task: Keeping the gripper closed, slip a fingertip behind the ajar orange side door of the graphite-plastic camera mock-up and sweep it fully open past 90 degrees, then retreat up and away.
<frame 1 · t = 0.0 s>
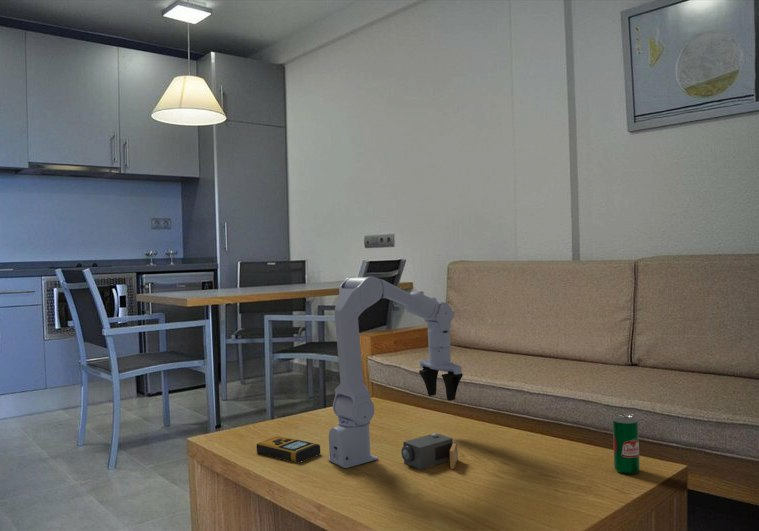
hand: (441, 397, 164), 10 cm above the table, fingers open, 7 cm apart
electronic device: (287, 455, 155), on the table
camera body: (428, 461, 145), on the table
side door: (453, 454, 142), point 2 cm above the table, hinge at 40.0°
soda can: (627, 472, 133), on the table
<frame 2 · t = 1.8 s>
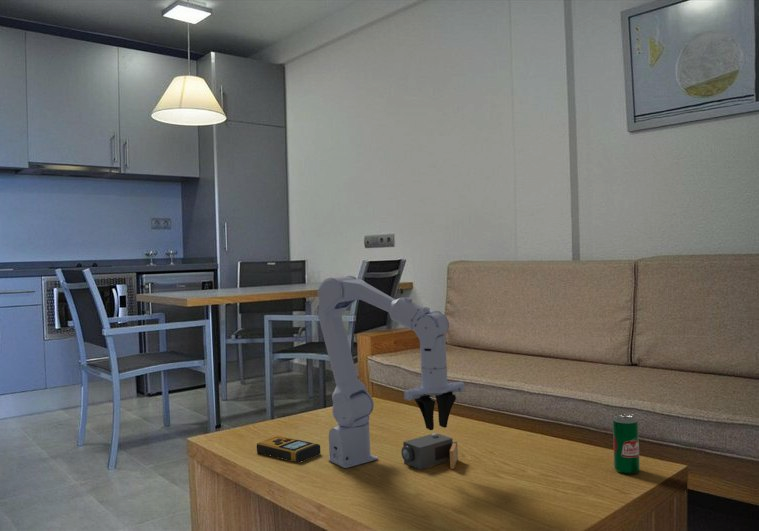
hand: (436, 427, 137), 10 cm above the table, fingers open, 3 cm apart
nothing on the table moved.
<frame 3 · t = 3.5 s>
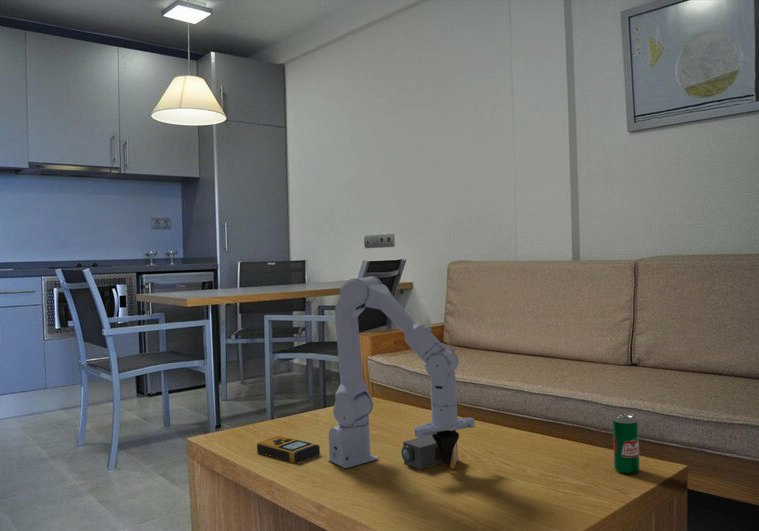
hand: (446, 464, 138), 1 cm above the table, fingers closed, pressing on side door
side door: (453, 454, 142), point 2 cm above the table, hinge at 40.3°, touching gripper
everything else where it was.
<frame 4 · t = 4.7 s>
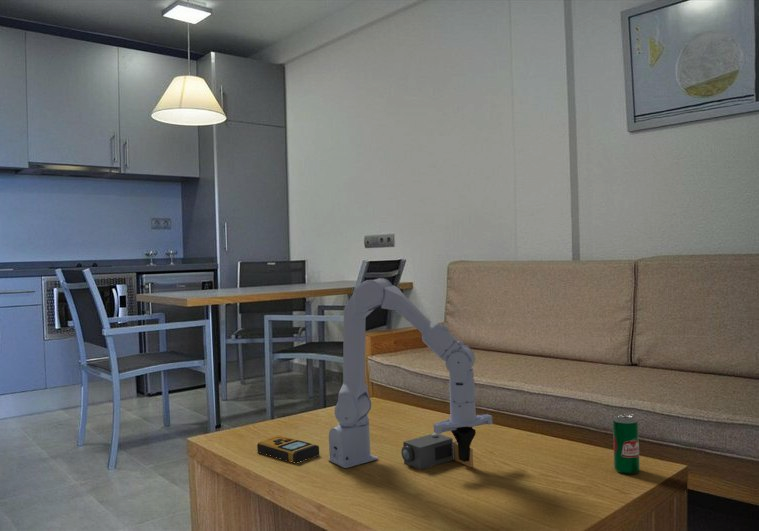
hand: (464, 459, 140), 2 cm above the table, fingers closed, pressing on side door
side door: (462, 454, 142), point 2 cm above the table, hinge at 83.3°, touching gripper
everything else where it was.
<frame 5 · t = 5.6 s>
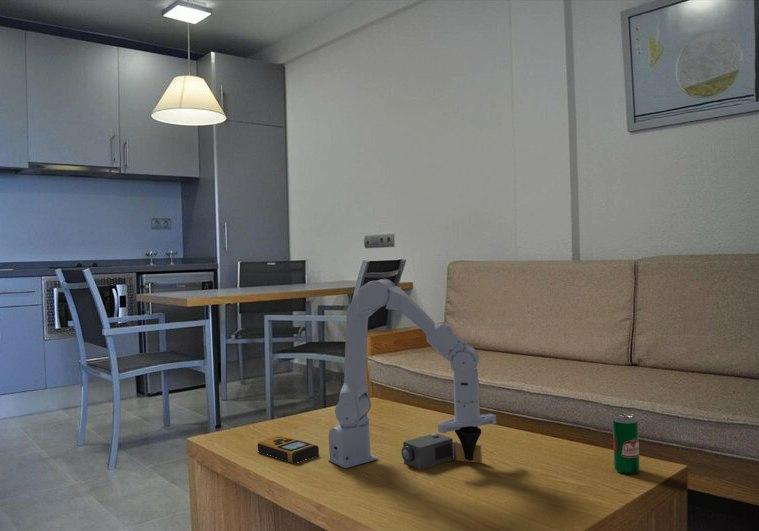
hand: (468, 459, 141), 1 cm above the table, fingers closed
side door: (467, 452, 143), point 2 cm above the table, hinge at 118.9°, touching gripper
everything else where it was.
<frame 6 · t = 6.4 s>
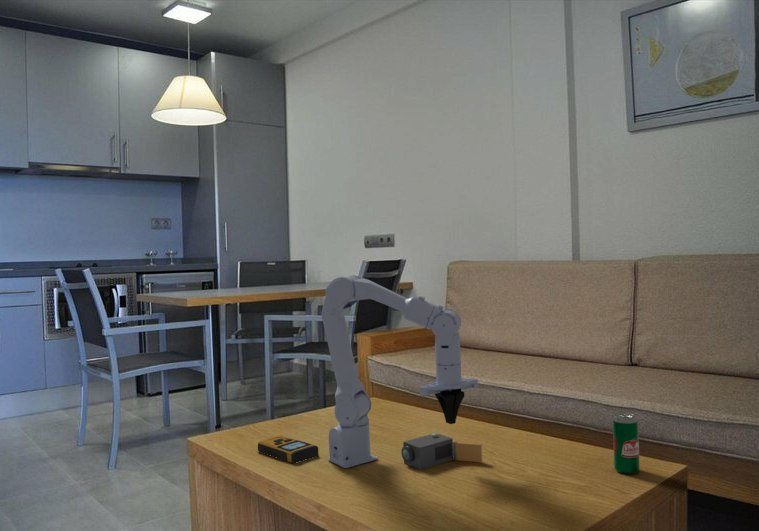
hand: (450, 422, 141), 10 cm above the table, fingers closed
side door: (467, 451, 143), point 2 cm above the table, hinge at 122.9°
everything else where it was.
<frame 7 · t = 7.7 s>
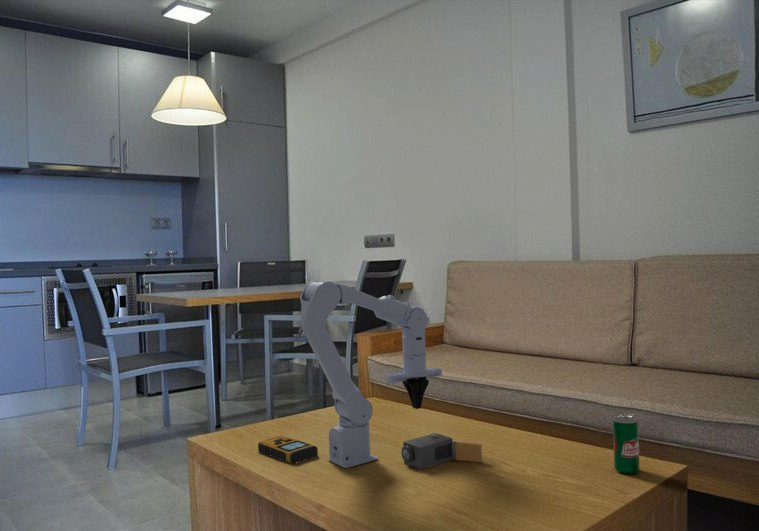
hand: (416, 407, 156), 10 cm above the table, fingers closed
side door: (467, 451, 144), point 2 cm above the table, hinge at 123.6°
everything else where it was.
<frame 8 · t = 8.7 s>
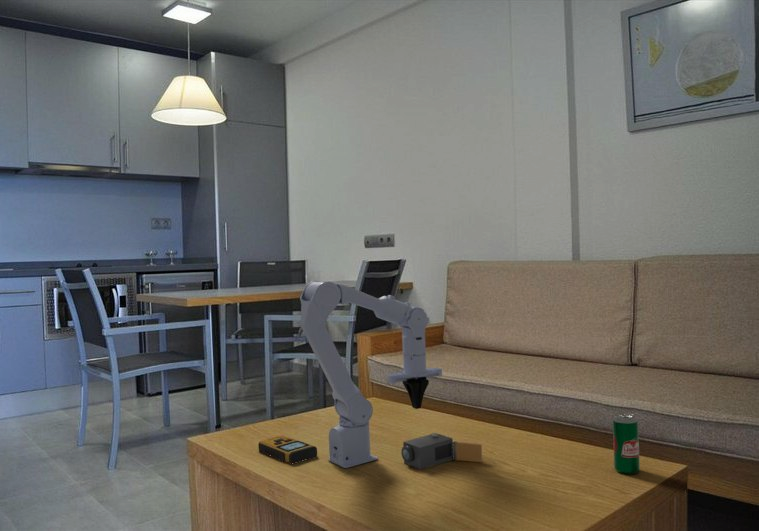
hand: (416, 407, 156), 10 cm above the table, fingers closed
nothing on the table moved.
at the end: side door at +124° (first picture: +40°) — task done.
